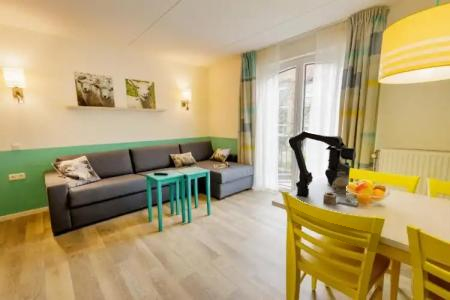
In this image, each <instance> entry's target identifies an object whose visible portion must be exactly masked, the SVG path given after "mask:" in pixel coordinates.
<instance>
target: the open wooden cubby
mask: <svg viewBox="0 0 450 300" xmlns="http://www.w3.org/2000/svg"><path fill="white" fill-rule="evenodd" d="M322 200H323V202H322V203H323V204H327V205H332V206H335V205H336V202H337V193H335V192H333V191H329V192H327V191H325V192H324V194H323V199H322Z"/></svg>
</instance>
